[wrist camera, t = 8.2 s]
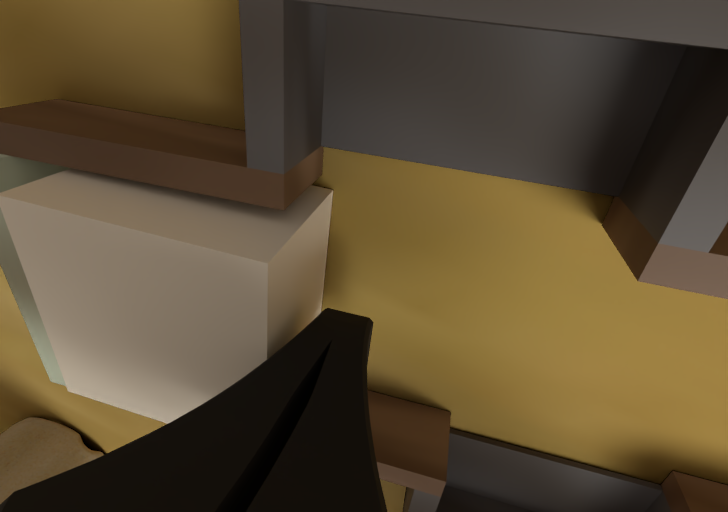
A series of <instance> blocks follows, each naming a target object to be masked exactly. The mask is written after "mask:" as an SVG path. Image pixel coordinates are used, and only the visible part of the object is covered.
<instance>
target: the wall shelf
mask: <svg viewBox="0 0 728 512" xmlns="http://www.w3.org/2000/svg"><path fill="white" fill-rule="evenodd" d="M239 14H240V34H241V53H242V73H243V93H244V112H245V131H242V130H236V129H231V128H225V127H219V126H213V125H207V124H201V123H195V122H189V121H183V120H177V119H172V118H166V117H160V116H154V115H148V114H142V113H136V112H130V111H124V110H118V109H113V108H107V107H101V106H95V105H89V104H83V103H77V102H71V101H65V100H60V99H54V100H48V101H42V102H36V103H30V104H24V105H18V106H12V107H6V108H0V193H1V192H4V191H7V190H10V189H13V188H15V187H18V186H21V185H24V184H27V183H30V182H33V181H36V180H39V179H42V178H44V177H47V176H50V175H53V174H56V173H59V172H62V171H65V170H68V169H71V168H73V169H78V170H83V171H88V172H93V173H98V174H104V175H109V176H114V177H119V178H124V179H129V180H134V181H139V182H144V183H149V184H154V185H159V186H164V187H169V188H174V189H179V190H184V191H189V192H194V193H199V194H204V195H209V196H214V197H219V198H224V199H229V200H234V201H239V202H244V203H249V204H254V205H259V206H264V207H269V208H274V209H279V210H285V209H286V208H287V207H288V206H289V205H290V204H291V203H292V202H293V201H295V200H296V199H297V198H298V197H299V196H300V195H301V194H302V193H303V192H304V191H305V190H306V189H307V188H308V187H309V186H310V185H311V184H313V183H314V182H315V181H316V180H317V179H318V178H319V177H320V176H321V175H322V167H323V147H329V148H334V149H340V150H346V151H352V152H358V153H364V154H370V155H375V156H381V157H387V158H393V159H399V160H405V161H411V162H416V163H422V164H428V165H434V166H440V167H446V168H452V169H458V170H463V171H469V172H475V173H481V174H487V175H493V176H499V177H504V178H510V179H516V180H522V181H528V182H534V183H540V184H545V185H551V186H557V187H563V188H569V189H575V190H581V191H587V192H592V193H598V194H604V195H610V196H615V197H614V199H613V202H612V204H611V206H610V208H609V210H608V213H607V215H606V217H605V219H604V222H603V224H602V226H603V228H604V229H605V231H606V232H607V234H608V236H609V237H610V239H611V240H612V242H613V243H614V245H615V246H616V248H617V250H618V251H619V253H620V254H621V256H622V257H623V259H624V260H625V262H626V264H627V265H628V267H629V268H630V270H631V271H632V273H633V274H634V276H635V278H636V279H637V281H640V282H645V283H650V284H655V285H660V286H665V287H670V288H675V289H680V290H685V291H690V292H695V293H700V294H705V295H710V296H715V297H720V298H725V299H728V0H239ZM0 265H1V267H2V270H3V272H4V274H5V277H6V279H7V281H8V284H9V286H10V288H11V290H12V293H13V295H14V297H15V300H16V302H17V304H18V307H19V309H20V311H21V314H22V316H23V318H24V321H25V323H26V325H27V328H28V330H29V332H30V335H31V337H32V339H33V341H34V344H35V346H36V348H37V351H38V353H39V355H40V358H41V360H42V362H43V365H44V367H45V369H46V372H47V374H48V376H49V379H50V381H51V382H54V383H57V384H61V385H64V386H66V384H65V381H64V379H63V376H62V373H61V370H60V368H59V365H58V362H57V360H56V357H55V354H54V351H53V349H52V346H51V343H50V341H49V338H48V335H47V333H46V330H45V327H44V324H43V322H42V319H41V316H40V314H39V311H38V308H37V305H36V303H35V300H34V297H33V295H32V292H31V289H30V287H29V284H28V281H27V278H26V276H25V273H24V270H23V268H22V265H21V262H20V259H19V257H18V254H17V251H16V249H15V246H14V243H13V240H12V238H11V235H10V232H9V230H8V227H7V224H6V222H5V219H4V216H3V213H2V211H1V208H0ZM367 391H368V390H367ZM368 404H369V415H370V423H371V431H372V438H373V444H374V450H375V457H376V462H377V467H378V472H379V478H380V479H382V480H385V481H388V482H392V483H395V484H398V485H402V486H405V487H406V493H405V499H404V506H403V512H728V485H724V484H721V483H717V482H713V481H709V480H705V479H702V478H698V477H694V476H690V475H686V474H683V473H679V472H675V471H672V472H671V473H670V475H669V476H668V477H667V478H666V479H665V481H664V482H663V483H662V484H661V485H658V484H655V483H651V482H647V481H643V480H640V479H636V478H632V477H629V476H625V475H621V474H618V473H614V472H610V471H606V470H603V469H599V468H595V467H592V466H588V465H584V464H581V463H577V462H573V461H569V460H566V459H562V458H558V457H555V456H551V455H547V454H544V453H540V452H536V451H532V450H529V449H525V448H521V447H518V446H514V445H510V444H507V443H503V442H499V441H495V440H492V439H488V438H484V437H481V436H477V435H473V434H470V433H466V432H462V431H458V430H455V429H451V428H450V417H451V412H448V411H444V410H440V409H437V408H433V407H429V406H425V405H421V404H418V403H414V402H410V401H406V400H402V399H399V398H395V397H391V396H387V395H383V394H380V393H376V392H372V391H368Z"/></svg>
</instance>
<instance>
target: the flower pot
mask: <svg viewBox="0 0 728 512" xmlns="http://www.w3.org/2000/svg"><path fill="white" fill-rule="evenodd" d="M103 455H104V454H103V453H102V452H100V451H92V450H90V449H88V448H87V447H86V446H85V445H84V444H83V442H82V440H81V436H80V434H78V433H77V432H75V431H74V430H72V429H70V428H68V427H66V426H64V425H62V424H59V423H56V422H53V421H49V420H46V419H43V418H34V417H30V418H26V419H24V420H22V421H20V422H18V423H16V424H14V425H12V426H11V427H9V428H8V429H7V430H6V431H4V432H3V433H1V434H0V504H1V503H2V502H3V501H4V500H6V499H7V498H8V497H9V496H10V495H11V494H12V493H13V492H14V491H17V490H20V489H22V488H25V487H28V486H30V485H33V484H35V483H38V482H40V481H43V480H45V479H48V478H50V477H53V476H55V475H58V474H60V473H63V472H65V471H67V470H70V469H72V468H75V467H77V466H80V465H82V464H85V463H87V462H90V461H92V460H94V459H96V458H99V457H101V456H103Z"/></svg>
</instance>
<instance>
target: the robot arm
mask: <svg viewBox="0 0 728 512" xmlns="http://www.w3.org/2000/svg"><path fill="white" fill-rule="evenodd" d="M372 328H373V322H372V320H371V319H370V318H368V317H363V316H359V315H355V314H351V313H346V312H342V311H338V310H334V309H330V308H327V309H325V310H323V311H322V312H321V313H320V314H319V315H318V316H317V317H316V318H315V319H314V320H313V321H312V322H311V323H310V324H308V325H307V326H306V327H305V328H304V329H303V330H302V331H301V332H300V333H298V334H297V335H296V336H295V337H294V338H293V339H292V340H290V341H289V342H288V343H287V344H286V345H284V346H283V347H282V348H281V349H280V350H278V351H277V352H276V353H275V354H274V355H272V356H271V357H270V358H268V359H267V360H266V361H265V362H263V363H262V364H261V365H259V366H258V367H256V368H255V369H254V370H252V371H251V372H250V373H248V374H247V375H246V376H244V377H243V378H242V379H240V380H239V381H237V382H236V383H234V384H233V385H231V386H230V387H228V388H227V389H225V390H224V391H222V392H221V393H219V394H218V395H216V396H215V397H213V398H211V399H210V400H208V401H207V402H205V403H203V404H202V405H200V406H198V407H197V408H195V409H193V410H191V411H190V412H188V413H186V414H184V415H183V416H181V417H179V418H177V419H176V420H174V421H172V422H170V423H168V424H166V425H165V426H163V427H161V428H159V429H157V430H155V431H153V432H151V433H149V434H147V435H145V436H143V437H141V438H139V439H137V440H134V441H132V442H130V443H128V444H126V445H124V446H122V447H120V448H118V449H116V450H114V451H112V452H109V453H107V454H105V455H103V456H101V457H99V458H96V459H94V460H92V461H90V462H87V463H85V464H82V465H80V466H77V467H75V468H72V469H70V470H67V471H65V472H63V473H60V474H58V475H55V476H53V477H50V478H48V479H45V480H43V481H40V482H38V483H35V484H33V485H30V486H28V487H25V488H22V489H20V490H17V491H14V492H13V493H12V494H11V495H10V496H9V497H8V498H7V499H6V500H4V501H3V502H2V503H1V504H0V512H387V508H386V504H385V499H384V495H383V491H382V487H381V482H380V478H379V472H378V467H377V462H376V457H375V450H374V444H373V438H372V431H371V423H370V415H369V404H368V391H367V362H368V355H369V348H370V342H371V335H372Z"/></svg>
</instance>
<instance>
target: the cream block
mask: <svg viewBox="0 0 728 512" xmlns="http://www.w3.org/2000/svg"><path fill="white" fill-rule="evenodd" d="M332 197H333V190H331V189H327V188H322V187H318V186H313V185H310V186H309V187H308V188H307V189H306V190H305V191H304V192H303V193H302V194H301V195H300V196H299V197H298V198H297V199H296V200H295V201H293V202H292V203H291V204H290V205H289V206H288V207H287V208H286V209H285V210H279V209H274V208H269V207H264V206H259V205H254V204H249V203H244V202H239V201H234V200H229V199H224V198H219V197H214V196H209V195H204V194H199V193H194V192H189V191H184V190H179V189H174V188H169V187H164V186H159V185H154V184H149V183H144V182H139V181H134V180H129V179H124V178H119V177H114V176H109V175H104V174H98V173H93V172H88V171H83V170H78V169H73V168H71V169H68V170H65V171H62V172H59V173H56V174H53V175H50V176H47V177H44V178H42V179H39V180H36V181H33V182H30V183H27V184H24V185H21V186H18V187H15V188H13V189H10V190H7V191H4V192H1V193H0V208H1V211H2V213H3V216H4V219H5V222H6V224H7V227H8V230H9V232H10V235H11V238H12V240H13V243H14V246H15V249H16V251H17V254H18V257H19V259H20V262H21V265H22V268H23V270H24V273H25V276H26V278H27V281H28V284H29V287H30V289H31V292H32V295H33V297H34V300H35V303H36V305H37V308H38V311H39V314H40V316H41V319H42V322H43V324H44V327H45V330H46V333H47V335H48V338H49V341H50V343H51V346H52V349H53V351H54V354H55V357H56V360H57V362H58V365H59V368H60V370H61V373H62V376H63V379H64V381H65V384H66V387H67V389H68V391H69V392H72V393H75V394H78V395H81V396H84V397H87V398H90V399H93V400H96V401H99V402H103V403H106V404H109V405H112V406H115V407H118V408H121V409H124V410H127V411H130V412H133V413H136V414H140V415H143V416H146V417H149V418H152V419H155V420H158V421H161V422H164V423H167V424H168V423H170V422H172V421H174V420H176V419H177V418H179V417H181V416H183V415H184V414H186V413H188V412H190V411H191V410H193V409H195V408H197V407H198V406H200V405H202V404H203V403H205V402H207V401H208V400H210V399H211V398H213V397H215V396H216V395H218V394H219V393H221V392H222V391H224V390H225V389H227V388H228V387H230V386H231V385H233V384H234V383H236V382H237V381H239V380H240V379H242V378H243V377H244V376H246V375H247V374H248V373H250V372H251V371H252V370H254V369H255V368H256V367H258V366H259V365H261V364H262V363H263V362H265V361H266V360H267V359H268V358H270V357H271V356H272V355H274V354H275V353H276V352H277V351H278V350H280V349H281V348H282V347H283V346H284V345H286V344H287V343H288V342H289V341H290V340H292V339H293V338H294V337H295V336H296V335H297V334H298V333H300V332H301V331H302V330H303V329H304V328H305V327H306V326H307V325H308V324H310V323H311V322H312V321H313V320H314V319H315V318H316V317H317V316H318V315H319V314H320V313H321V308H322V298H323V288H324V278H325V268H326V258H327V248H328V238H329V228H330V217H331V207H332Z"/></svg>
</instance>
